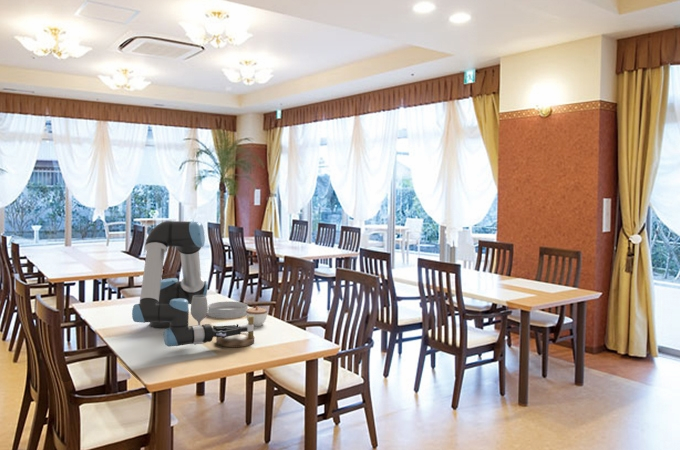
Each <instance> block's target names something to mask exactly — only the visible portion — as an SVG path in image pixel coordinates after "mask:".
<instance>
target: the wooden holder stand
mask: <svg viewBox="0 0 680 450" xmlns="http://www.w3.org/2000/svg"><path fill="white" fill-rule="evenodd" d="M247 322H248V323H247V325H252V324H253V325H254V316H248V320H247ZM254 331H255V330H254ZM254 331H249V332H241V334H240V335H239V334H238V335H233V336H228V337H225V338H222V336H221V337H215V338H216V340H215V341H216V342H215V343H216V345H217V346H221V347H225V348H241V347H247V346H250V345H252V344H254V343H255V336H254Z"/></svg>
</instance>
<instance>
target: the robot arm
mask: <svg viewBox="0 0 680 450" xmlns="http://www.w3.org/2000/svg"><path fill="white" fill-rule="evenodd" d="M205 241H206V236H205V230H204V226H203V224H202V223H201V222H199V221H187V220H185V221H184V220H183V221H181V220H180V221H176V220H175V221H172V220H166V221H163V222H160V223H158V224H157V225H156V226H155V227H153V229H152V230H151V231H150V232H149V234H148V236H147V238H146V240H145V245H144V250H145V251H146V253H145V261H144V268H143V277H142V282H141V289H140V295H139V296H140V297H139V303H136V304H134V305H133V307H132V309H131V311H132V312H131V315H132V317H131V318H132V320H133V322H135V323H145V324H146V323H149V326H150V327H153V328H158V329H164V331H163V342H164V344H165V346H166V347H179V346H185V345H187V346H188V345H195V346H196V345H197V344H196V343H202V342H206V343H210V342H213V338H217V337H221V336H222V338H225V337H228V336H233V335H238V334H239V335H240V334H241V333H248V332H249V331H255V329H254V328H255V326H254V325H253V324H252V325H248V324H246V325H245V324H244V325H239V324H238V323H236V325H235V324H233V325H232V324H231V325H228V324H227V325H213V326H212V324H210V323H208V324H207V323H206V324H200V325H198V324H196V325H189V320H190V319H189V315H190V314H189V312H190V309H189V305H191V302H192V297H193V296H194V295H206V297H207V296H208V285H209V283H208V281H206V280H205V278H203V277H202V274H201V261H200V250H201V249H202V248H203V247H204V246H205V244H206V243H205ZM168 247H170V248H171V247H173V248H174V247H175V248H176V250H177V251H178V253H179V254H180V261H181V262H180V263H181V271H182V279H181V281H179V279H178V278H177V277H172V278H171V277H170V278H164V279H162V277H163V269H164V261H165V254H166V252H167V251H168ZM202 344H203V343H202Z"/></svg>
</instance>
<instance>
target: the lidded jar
mask: <svg viewBox="0 0 680 450" xmlns="http://www.w3.org/2000/svg"><path fill="white" fill-rule="evenodd" d="M248 316H254V327H261V326H263V324H265V322H266V320H267V318H268V317H267V316H268V310H267V308H263V307H259V306H255V307H251V308H247V310H246V320H247V321H248Z"/></svg>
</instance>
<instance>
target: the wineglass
mask: <svg viewBox="0 0 680 450" xmlns="http://www.w3.org/2000/svg"><path fill="white" fill-rule="evenodd" d="M207 299H208V298H207V296H206V295H194V296H193V297H192V302H191V304H190V315H191V317H192V318H193V319H194V320H195V321H196V322H197V325H201V322H202V321H203V320H204V319H205V318H206V317H207V315H208V306H209V305H208V304H209V303H208V300H207ZM205 343H207V342H202V343H196V345H199V344H205Z"/></svg>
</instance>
